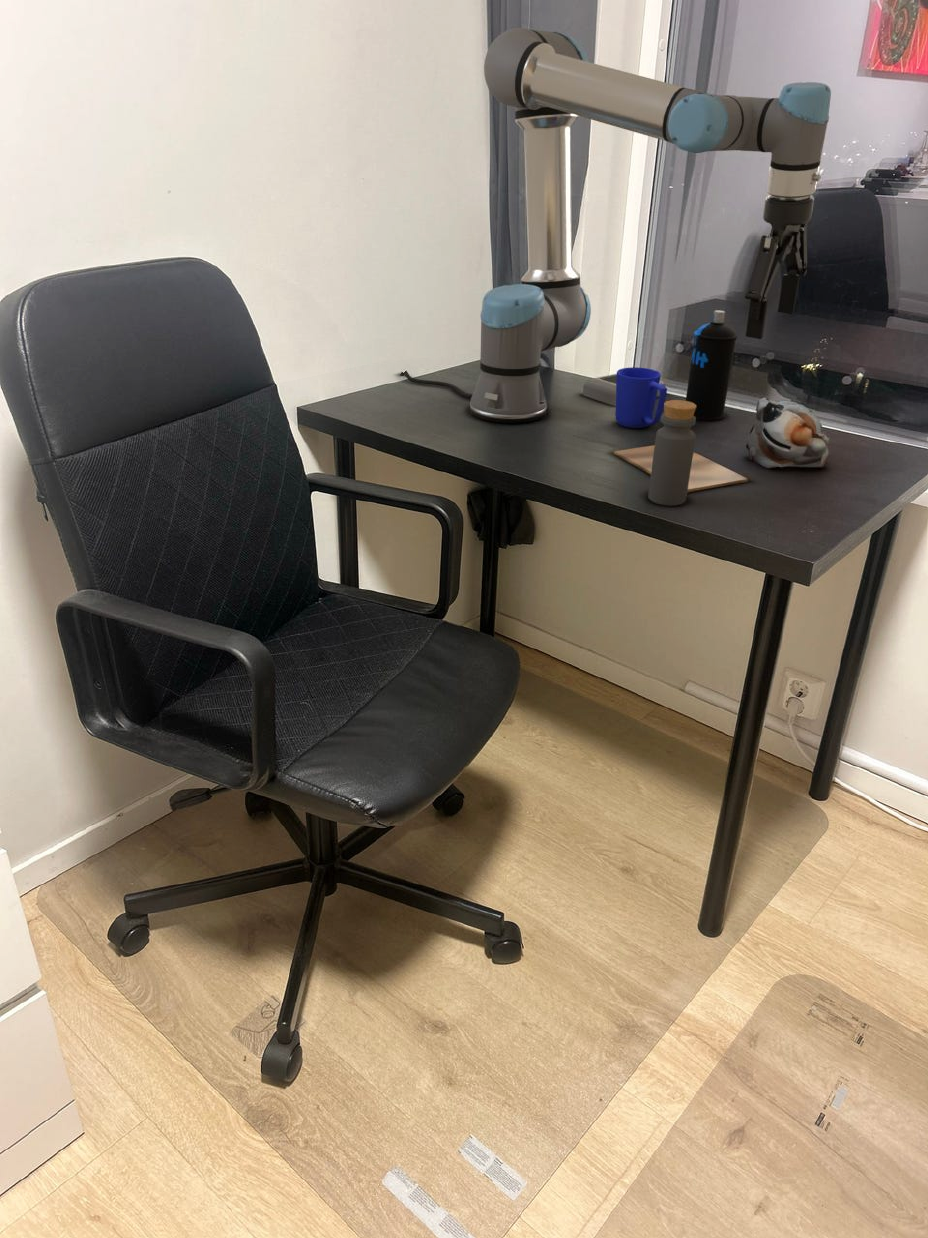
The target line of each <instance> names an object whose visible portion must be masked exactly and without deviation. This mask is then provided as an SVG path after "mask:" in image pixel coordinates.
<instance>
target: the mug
mask: <svg viewBox="0 0 928 1238" xmlns="http://www.w3.org/2000/svg"><path fill="white" fill-rule="evenodd" d="M616 374H617V379H616V406H615V421H616V423H617V424H618V425H619V426H622V427H624V428H628V429H643V428H646V427H648V426H649V425H656V424H657V423H659V421H661V415H662V414H663V413H664V412H663V411H664V403H665V402H666V398H667V393H668V388H667V387H666V386H663V385H661V384H659V382H660V381H661V377H662V374H661V372H659V371H658V370H656V369H652V368H647V367H635V366H632V367H623V368H620V369H618V370H617V371H616ZM658 389H659V390H660V394H659V396H658V397H657V392H658ZM657 398H658V400H657ZM656 401H657V407H656V411H655V414H654V410H655V406H656ZM653 414H654V417H653Z"/></svg>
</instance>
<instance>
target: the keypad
mask: <svg viewBox="0 0 928 1238" xmlns="http://www.w3.org/2000/svg"><path fill="white" fill-rule="evenodd" d="M616 379H617V373H613V374H608V375H602V376H598V377H597V376H596V377H593V378H591V379H589V380H587V381H586V382H584V384H583V386H582V396H584V397H587V398H590V399H593V400H596V401H598V402H601V403H605V404H608V405H610V406H612V407H616ZM659 384H661V385H663V386H665V387H666V386H667V385H666V382H664V381H663V380H660V382H659ZM659 394H660V390H659V389H658V392H657V397H656V398H659Z"/></svg>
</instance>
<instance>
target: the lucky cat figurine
mask: <svg viewBox="0 0 928 1238" xmlns="http://www.w3.org/2000/svg"><path fill="white" fill-rule="evenodd" d="M755 411H756V414H755V422H754V424H753V425H752V427H751V429H750V431H749V435H748V437H747V441H746V444H745V449H746V450H748V455H749V460H750V461H752V462H754V463H755V464H758V465H759V466H762V467H763V468H765V469H773V468H777V467H780V468H784V467H785V468H786V467H794V468H795V467H797V468H798V467H799V468H817V469H818V468H820V469H823V468H824V466H825V465H826V462H827V460H828V457H829V455H830V451H829V449H828V445H829V441H830V437H828V436H827V435H826V433H823V432H822V431H823V425H822V422H821V421H820V419H819V417H817V415H816V414H814V413H813V412H812V410H810V409H809V408H808V407H806V406H805V405H804V404H800V403H798V402H796V401H790V400H788V401H787V400H779V401H776V402H774V403H773V402H771V401H770V400H769V398H768V397H763V398H760V399H758V400H757V402H756V407H755Z"/></svg>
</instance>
